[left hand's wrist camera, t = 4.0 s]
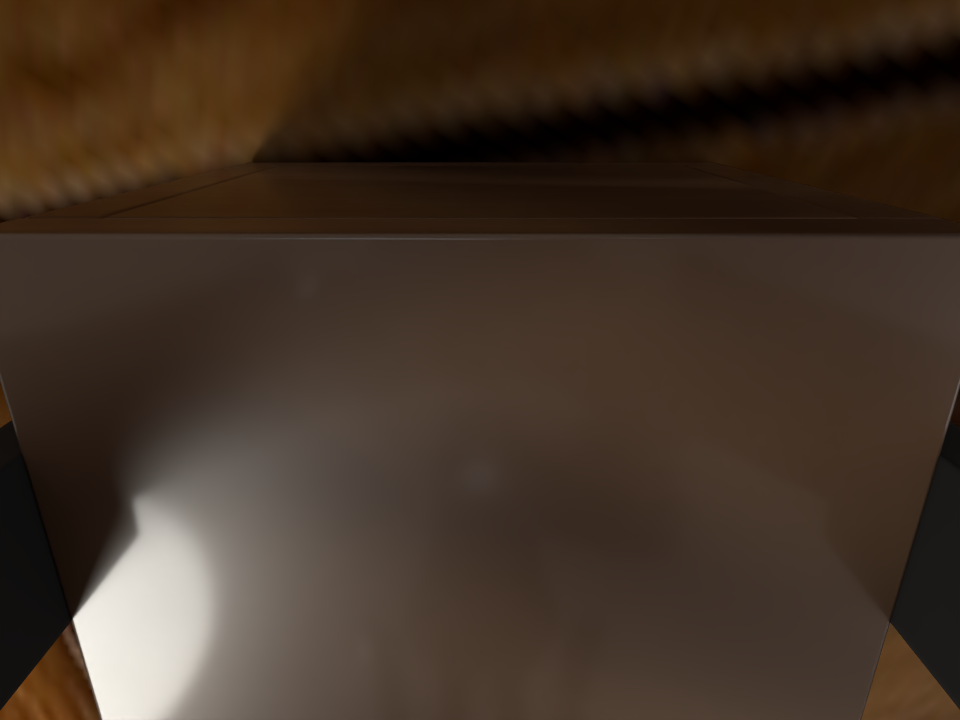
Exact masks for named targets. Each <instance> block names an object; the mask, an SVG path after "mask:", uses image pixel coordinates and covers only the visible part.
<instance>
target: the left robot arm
mask: <svg viewBox="0 0 960 720" xmlns="http://www.w3.org/2000/svg"><path fill="white" fill-rule="evenodd" d="M70 622H71V618H70V615H69V611H68V608H67V605H66V601H65V598H64V594H63V591H62V588H61V584H60V581H59V578H58V574H57V571H56V567H55V564H54V561H53V557H52V554H51V551H50V547H49V544H48V540H47V537H46V534H45V530H44V527H43V524H42V520H41V517H40V513H39V510H38V507H37V503H36V500H35V497H34V493H33V490H32V486H31V483H30V480H29V476H28V473H27V470H26V466H25V463H24V459H23V456H22V453H21V449H20V446H19V443H18V439H17V436H16V432H15V429H14V426H13V422H12V421H10V422H9V423H7V424H6V425H4V426H3V427H1V428H0V710H1V709H2V708H3V706H4V705H5V704H6V703H7V701H8V700H9V699H10V698H11V696H12V695H13V694H14V693H15V691H16V690H17V689H18V687H19V686H20V685H21V684H22V682H23V681H24V680H25V679H26V677H27V676H28V675H29V674H30V672H31V671H32V670H33V669H34V667H35V666H36V665H37V664H38V662H39V661H40V660H41V659H42V657H43V656H44V655H45V654H46V652H47V651H48V650H49V648H50V647H51V646H52V645H53V643H54V642H55V641H56V640H57V638H58V637H59V636H60V635H61V633H62V632H63V631H64V630H65V628H66V627H67V626H68V625H69V623H70ZM890 622H891V624H892V625H893V626H894V627H895V629H896V630H897V631H898V632H899V634H900V635H901V636H902V637H903V639H904V640H905V641H906V642H907V644H908V645H909V646H910V648H911V649H912V650H913V651H914V653H915V654H916V655H917V656H918V658H919V659H920V660H921V661H922V663H923V664H924V665H925V666H926V668H927V669H928V670H929V671H930V673H931V674H932V675H933V676H934V678H935V679H936V680H937V681H938V683H939V684H940V685H941V687H942V688H943V689H944V690H945V692H946V693H947V694H948V695H949V697H950V698H951V699H952V700H953V702H954V703H955V704H956V705H957V707H958V708H959V709H960V427H958V426H957V425H955V424H954V423H952V422H951V421H950V422H949V426H948V429H947V432H946V436H945V439H944V442H943V446H942V449H941V452H940V456H939V459H938V463H937V466H936V469H935V473H934V476H933V479H932V483H931V486H930V489H929V493H928V496H927V500H926V503H925V506H924V510H923V513H922V516H921V520H920V523H919V526H918V530H917V533H916V536H915V540H914V543H913V547H912V550H911V553H910V557H909V560H908V563H907V567H906V570H905V573H904V577H903V580H902V584H901V587H900V590H899V594H898V597H897V600H896V604H895V607H894V610H893V614H892V617H891V621H890Z"/></svg>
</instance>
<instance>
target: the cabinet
mask: <svg viewBox="0 0 960 720" xmlns="http://www.w3.org/2000/svg"><path fill="white" fill-rule="evenodd" d="M0 382H1V385H2V389H3V392H4V395H5V399H6V402H7V405H8V409H9V412H10V416H11V419H12V422H13V426H14V429H15V432H16V436H17V439H18V443H19V446H20V449H21V453H22V456H23V459H24V463H25V466H26V470H27V473H28V476H29V480H30V483H31V486H32V490H33V493H34V497H35V500H36V503H37V507H38V510H39V513H40V517H41V520H42V524H43V527H44V530H45V534H46V537H47V540H48V544H49V547H50V551H51V554H52V557H53V561H54V564H55V567H56V571H57V574H58V578H59V581H60V584H61V588H62V591H63V594H64V598H65V601H66V605H67V608H68V611H69V615H70V618H71V621H72V625H73V628H74V632H75V635H76V638H77V642H78V645H79V648H80V652H81V655H82V659H83V662H84V665H85V669H86V672H87V675H88V679H89V682H90V686H91V689H92V692H93V696H94V699H95V702H96V706H97V709H98V713H99V716H100V719H101V720H861V718H862V715H863V711H864V708H865V705H866V701H867V698H868V695H869V691H870V688H871V684H872V681H873V678H874V674H875V671H876V668H877V664H878V661H879V658H880V654H881V651H882V647H883V644H884V641H885V637H886V634H887V631H888V627H889V624H890V621H891V617H892V614H893V610H894V607H895V604H896V600H897V597H898V594H899V590H900V587H901V584H902V580H903V577H904V573H905V570H906V567H907V563H908V560H909V557H910V553H911V550H912V547H913V543H914V540H915V536H916V533H917V530H918V526H919V523H920V520H921V516H922V513H923V510H924V506H925V503H926V500H927V496H928V493H929V489H930V486H931V483H932V479H933V476H934V473H935V469H936V466H937V463H938V459H939V456H940V452H941V449H942V446H943V442H944V439H945V436H946V432H947V429H948V426H949V422H950V419H951V415H952V412H953V409H954V405H955V402H956V399H957V395H958V392H959V389H960V223H959V222H954V221H950V220H946V219H940V218H938V217H935V216H931V215H927V214H923V213H919V212H915V211H911V210H907V209H903V208H898V207H894V206H890V205H886V204H882V203H878V202H874V201H870V200H866V199H862V198H858V197H853V196H849V195H845V194H841V193H837V192H833V191H829V190H825V189H821V188H817V187H812V186H808V185H804V184H800V183H796V182H792V181H788V180H784V179H780V178H776V177H771V176H767V175H763V174H759V173H755V172H751V171H747V170H743V169H739V168H735V167H731V166H725V165H721V164H717V163H713V162H249V163H245V164H241V165H237V166H233V167H229V168H225V169H221V170H217V171H212V172H208V173H204V174H200V175H196V176H192V177H188V178H184V179H180V180H176V181H172V182H168V183H163V184H159V185H155V186H151V187H147V188H143V189H139V190H135V191H131V192H127V193H123V194H119V195H115V196H110V197H106V198H102V199H98V200H94V201H90V202H86V203H82V204H78V205H74V206H70V207H66V208H61V209H57V210H53V211H49V212H45V213H41V214H37V215H33V216H29V217H27V218H25V219H15V220H11V221H7V222H3V223H0Z"/></svg>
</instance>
